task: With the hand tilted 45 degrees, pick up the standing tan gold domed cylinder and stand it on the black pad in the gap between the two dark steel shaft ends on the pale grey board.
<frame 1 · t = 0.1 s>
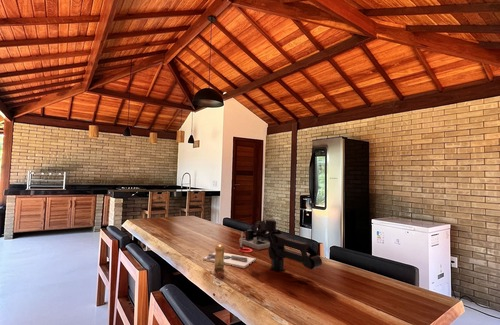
hand: (249, 231, 173), 17 cm above the table, tool horizontal, fingers open, 9 cm apart
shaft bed: (225, 259, 167), on the table
parts tray: (259, 244, 206), on the table
tan gold domed cylinder: (219, 269, 150), on the table
tow hook: (245, 251, 187), on the table
metal bracket: (259, 243, 206), resting on parts tray
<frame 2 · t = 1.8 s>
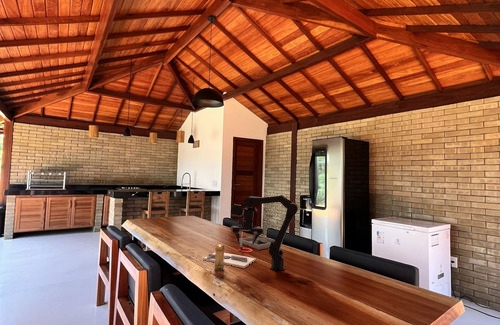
hand: (245, 244, 158), 12 cm above the table, tool pointing down, fingers open, 9 cm apart
nothing on the table moved.
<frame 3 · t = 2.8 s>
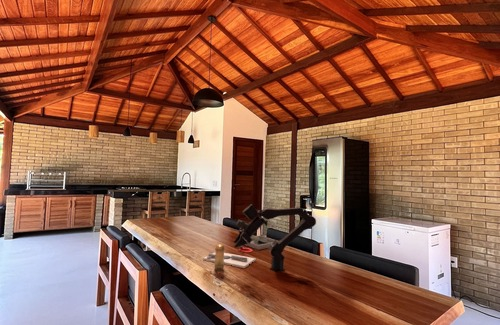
hand: (234, 244, 151), 13 cm above the table, tool tilted 45°, fingers open, 9 cm apart
nothing on the table moved.
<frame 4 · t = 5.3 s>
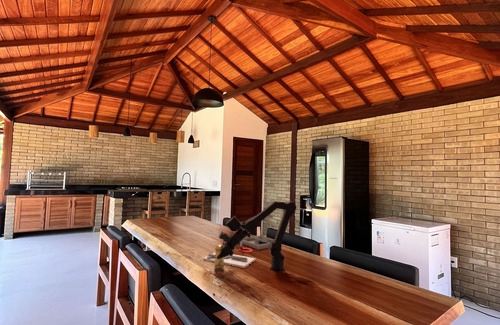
hand: (217, 257, 150), 7 cm above the table, tool tilted 45°, fingers closed on tan gold domed cylinder, 5 cm apart
tan gold domed cylinder: (219, 269, 150), on the table, touching gripper
when the fingers open (9 cm above the table, at t = 8.9 s): tan gold domed cylinder stays where it is, resting on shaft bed.
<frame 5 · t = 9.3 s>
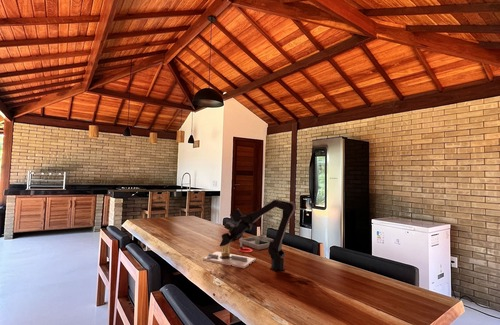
hand: (223, 244, 168), 9 cm above the table, tool tilted 45°, fingers open, 9 cm apart
tan gold domed cylinder: (225, 257, 167), point 1 cm above the table, touching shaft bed
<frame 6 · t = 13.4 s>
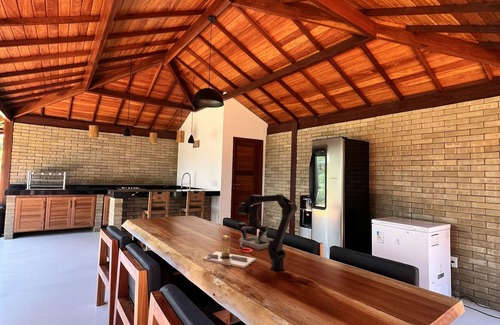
hand: (252, 241, 164), 12 cm above the table, tool pointing down, fingers open, 9 cm apart
at the end: tan gold domed cylinder 0.1 cm off-centre on the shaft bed, point 1.3 cm above the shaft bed's base; tan gold domed cylinder tilted 1°; the gripper is holding nothing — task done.
